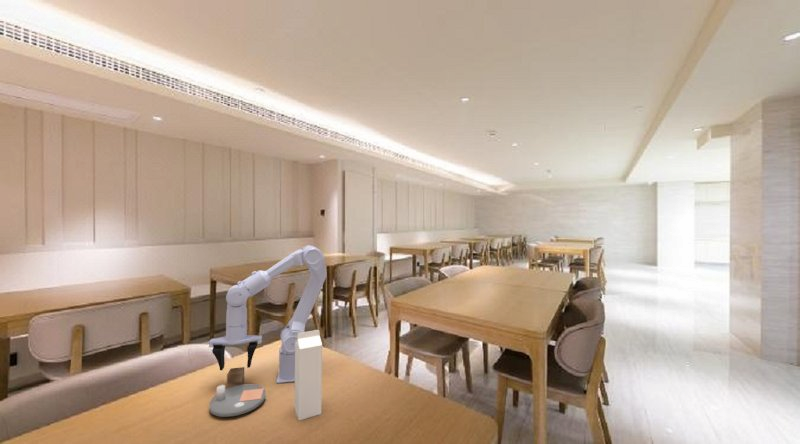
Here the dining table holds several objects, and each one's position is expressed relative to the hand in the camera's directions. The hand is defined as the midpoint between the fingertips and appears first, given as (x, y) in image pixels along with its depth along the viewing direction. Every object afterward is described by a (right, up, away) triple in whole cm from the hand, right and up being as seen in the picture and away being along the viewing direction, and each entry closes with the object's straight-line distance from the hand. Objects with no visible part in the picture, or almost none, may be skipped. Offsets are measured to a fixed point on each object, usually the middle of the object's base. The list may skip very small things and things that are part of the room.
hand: (235, 367), depth 97 cm
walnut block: (0, -6, 0) cm, 6 cm away
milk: (+26, -7, -12) cm, 29 cm away
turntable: (+6, -6, -9) cm, 12 cm away
